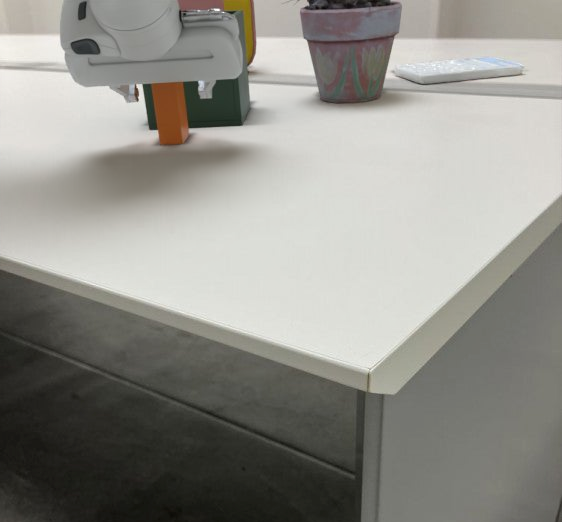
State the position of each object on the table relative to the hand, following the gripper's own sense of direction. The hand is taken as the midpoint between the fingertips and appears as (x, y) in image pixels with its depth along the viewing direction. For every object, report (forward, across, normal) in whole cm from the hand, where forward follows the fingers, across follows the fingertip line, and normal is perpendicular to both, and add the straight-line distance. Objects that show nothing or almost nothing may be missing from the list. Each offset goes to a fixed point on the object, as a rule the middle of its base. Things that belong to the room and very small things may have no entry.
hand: (169, 96), depth 86 cm
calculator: (+36, -44, -28) cm, 63 cm away
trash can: (+16, -1, -8) cm, 18 cm away
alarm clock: (+50, +4, -41) cm, 65 cm away
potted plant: (+24, -23, -16) cm, 37 cm away
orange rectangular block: (+4, 0, +4) cm, 6 cm away
